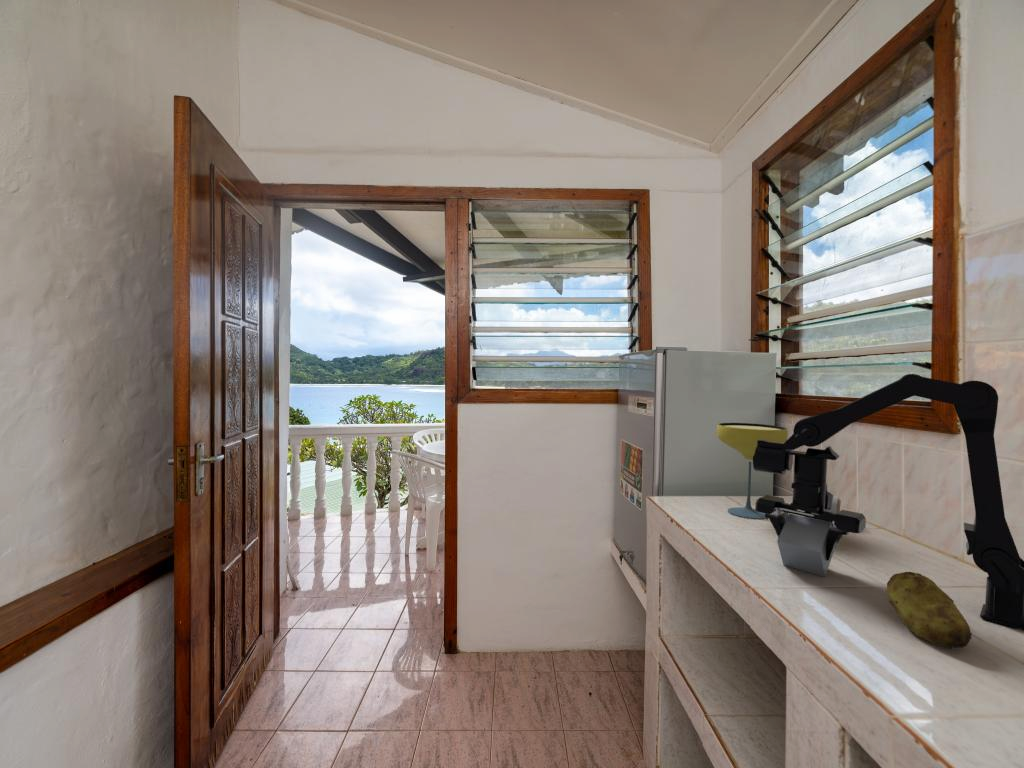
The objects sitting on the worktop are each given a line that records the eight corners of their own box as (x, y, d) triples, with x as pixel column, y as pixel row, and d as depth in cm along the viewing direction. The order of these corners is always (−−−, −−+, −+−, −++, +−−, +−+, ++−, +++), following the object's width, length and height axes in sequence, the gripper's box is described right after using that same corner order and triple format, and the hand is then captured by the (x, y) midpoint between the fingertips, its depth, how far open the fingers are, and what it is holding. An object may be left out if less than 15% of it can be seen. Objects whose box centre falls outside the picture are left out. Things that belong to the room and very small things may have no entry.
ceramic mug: (839, 527, 132) (840, 498, 132) (803, 521, 136) (804, 493, 136) (839, 518, 141) (841, 491, 141) (806, 513, 145) (807, 487, 145)
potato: (905, 646, 74) (907, 592, 74) (879, 608, 86) (881, 562, 86) (977, 660, 71) (980, 604, 71) (940, 619, 83) (942, 571, 83)
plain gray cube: (825, 576, 99) (820, 552, 96) (783, 564, 105) (777, 541, 102) (835, 547, 103) (830, 522, 100) (794, 537, 109) (789, 513, 106)
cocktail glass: (794, 525, 133) (798, 431, 132) (722, 520, 136) (726, 428, 135) (770, 507, 151) (774, 424, 150) (707, 503, 153) (710, 421, 153)
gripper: (874, 481, 101) (870, 558, 101) (775, 466, 114) (772, 534, 115) (860, 490, 93) (855, 572, 94) (756, 472, 107) (752, 544, 107)
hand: (805, 554), depth 103 cm, fingers closed on plain gray cube, 8 cm apart
